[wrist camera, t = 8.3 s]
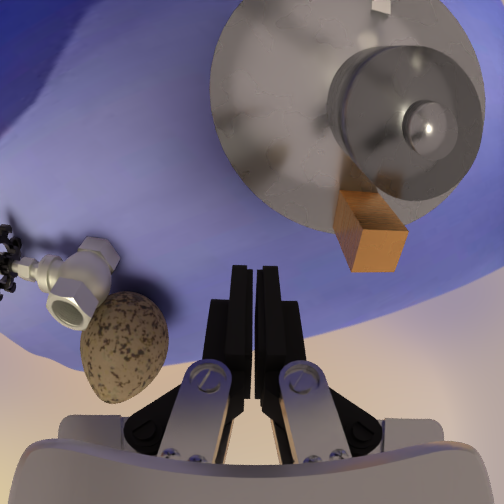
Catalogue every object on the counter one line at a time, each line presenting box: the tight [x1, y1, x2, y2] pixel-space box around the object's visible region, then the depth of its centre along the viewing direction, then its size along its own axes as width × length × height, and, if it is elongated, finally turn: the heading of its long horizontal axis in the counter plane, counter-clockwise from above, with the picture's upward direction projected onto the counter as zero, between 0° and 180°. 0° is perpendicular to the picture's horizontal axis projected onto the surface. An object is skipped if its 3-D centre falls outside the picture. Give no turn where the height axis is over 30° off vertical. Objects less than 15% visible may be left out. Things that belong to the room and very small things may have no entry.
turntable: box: [209, 0, 485, 272], centre depth 11 cm, size 16×16×6 cm
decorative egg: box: [80, 291, 169, 404], centre depth 21 cm, size 7×7×10 cm
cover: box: [327, 45, 483, 201], centre depth 11 cm, size 7×7×4 cm
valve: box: [0, 224, 120, 331], centre depth 18 cm, size 7×7×12 cm
